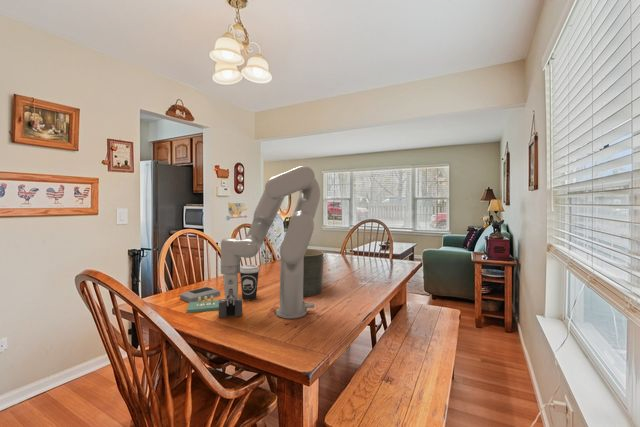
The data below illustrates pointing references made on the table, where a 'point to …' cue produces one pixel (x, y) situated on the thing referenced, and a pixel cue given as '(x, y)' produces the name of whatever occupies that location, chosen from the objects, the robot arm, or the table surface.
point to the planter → (313, 272)
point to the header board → (203, 305)
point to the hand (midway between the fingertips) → (230, 311)
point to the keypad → (199, 294)
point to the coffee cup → (249, 281)
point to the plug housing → (224, 303)
